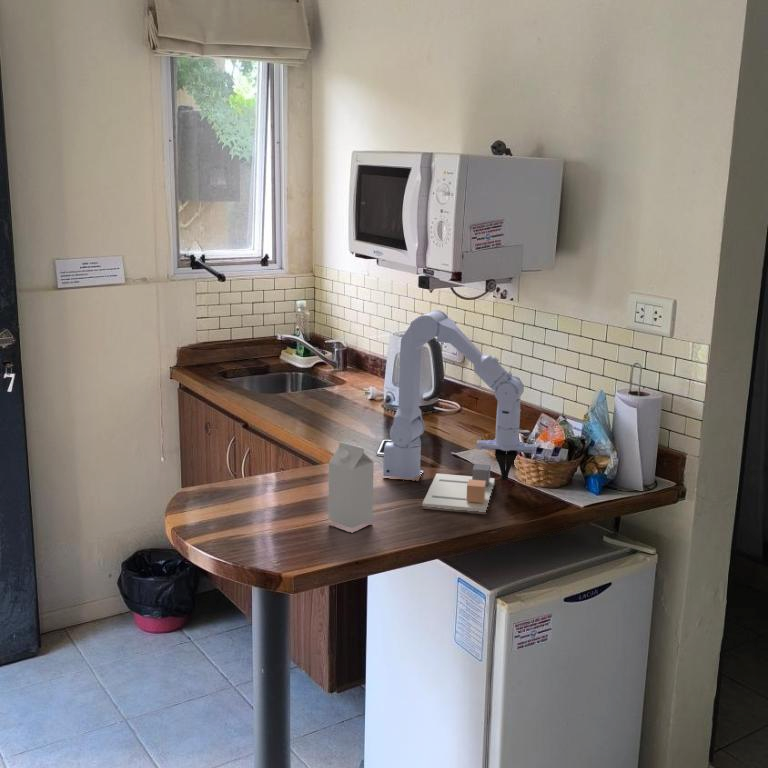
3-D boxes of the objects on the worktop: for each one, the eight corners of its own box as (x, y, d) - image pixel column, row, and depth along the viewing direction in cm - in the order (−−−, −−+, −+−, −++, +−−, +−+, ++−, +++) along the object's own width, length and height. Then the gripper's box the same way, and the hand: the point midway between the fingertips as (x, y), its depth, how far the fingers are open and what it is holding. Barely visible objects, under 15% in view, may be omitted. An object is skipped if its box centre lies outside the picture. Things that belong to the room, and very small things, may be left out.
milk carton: (349, 517, 211) (349, 438, 207) (372, 525, 207) (374, 444, 203) (328, 526, 206) (328, 445, 202) (351, 534, 202) (352, 451, 197)
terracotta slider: (466, 501, 217) (467, 485, 216) (468, 495, 222) (469, 479, 221) (483, 502, 217) (484, 486, 216) (485, 496, 221) (485, 480, 220)
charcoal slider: (472, 484, 229) (472, 469, 228) (474, 478, 233) (474, 463, 232) (488, 485, 228) (488, 470, 227) (489, 480, 232) (490, 465, 231)
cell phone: (375, 457, 256) (375, 454, 255) (382, 441, 270) (382, 438, 270) (403, 458, 255) (403, 455, 254) (408, 443, 269) (408, 440, 269)
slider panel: (422, 509, 217) (422, 502, 217) (436, 478, 238) (436, 473, 238) (485, 515, 214) (486, 508, 214) (494, 483, 235) (494, 478, 235)
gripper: (476, 428, 223) (474, 481, 227) (536, 433, 221) (533, 486, 224) (479, 420, 230) (477, 472, 233) (538, 425, 227) (534, 477, 231)
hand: (504, 478), depth 229 cm, fingers closed
